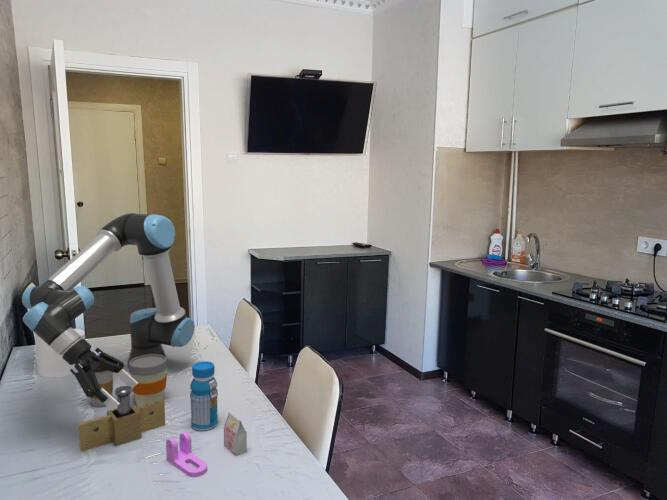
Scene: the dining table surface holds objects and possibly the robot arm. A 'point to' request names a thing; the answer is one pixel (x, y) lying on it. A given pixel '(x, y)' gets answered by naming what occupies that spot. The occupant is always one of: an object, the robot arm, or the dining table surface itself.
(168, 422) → the dining table surface
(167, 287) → the robot arm
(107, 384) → the coffee cup
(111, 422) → the tan plate
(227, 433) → the small gable-top carton
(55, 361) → the white stepped cylinder block
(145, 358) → the reusable coffee cup
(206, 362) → the beverage bottle
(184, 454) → the bracket
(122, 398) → the hinge pin
